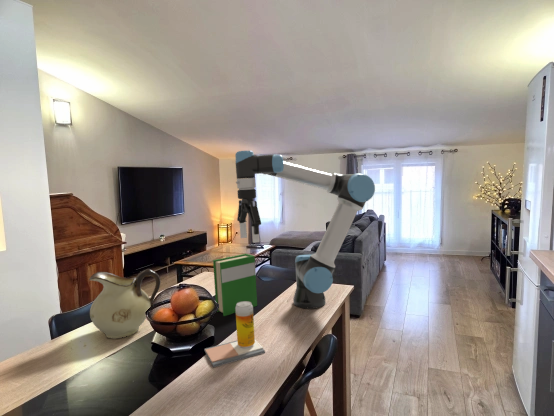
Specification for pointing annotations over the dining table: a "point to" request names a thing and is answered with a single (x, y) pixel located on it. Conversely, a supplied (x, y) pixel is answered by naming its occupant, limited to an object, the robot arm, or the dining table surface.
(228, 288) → the hardback book
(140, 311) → the pitcher
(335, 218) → the robot arm
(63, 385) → the dining table surface
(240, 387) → the dining table surface
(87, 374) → the dining table surface
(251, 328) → the yellow bottle
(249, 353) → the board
